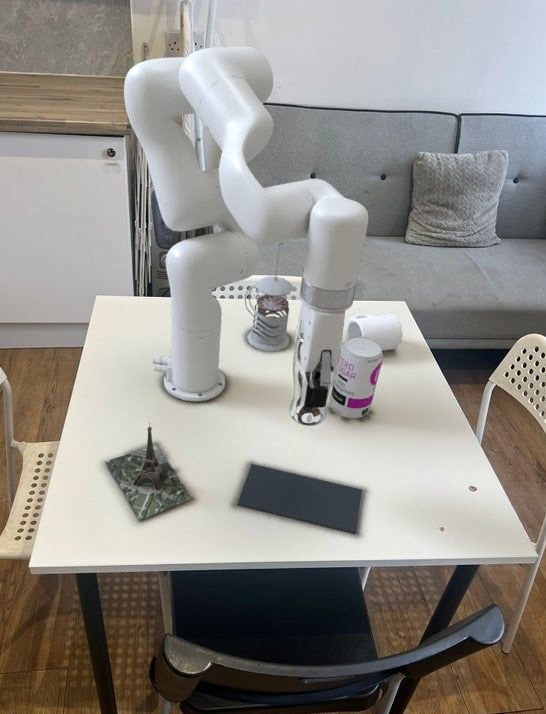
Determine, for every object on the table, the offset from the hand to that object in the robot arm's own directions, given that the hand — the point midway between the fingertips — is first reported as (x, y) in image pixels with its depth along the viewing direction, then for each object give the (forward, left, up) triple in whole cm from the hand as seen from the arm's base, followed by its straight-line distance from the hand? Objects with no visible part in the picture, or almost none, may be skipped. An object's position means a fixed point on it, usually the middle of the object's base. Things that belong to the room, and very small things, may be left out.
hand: (311, 391), depth 100 cm
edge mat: (+2, -4, -20) cm, 20 cm away
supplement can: (+7, +24, -20) cm, 32 cm away
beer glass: (0, 0, -5) cm, 5 cm away
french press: (-15, +43, -20) cm, 50 cm away
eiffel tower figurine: (-24, -8, -20) cm, 33 cm away
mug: (+8, +49, -20) cm, 53 cm away
